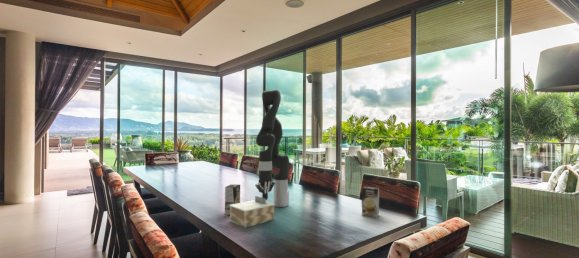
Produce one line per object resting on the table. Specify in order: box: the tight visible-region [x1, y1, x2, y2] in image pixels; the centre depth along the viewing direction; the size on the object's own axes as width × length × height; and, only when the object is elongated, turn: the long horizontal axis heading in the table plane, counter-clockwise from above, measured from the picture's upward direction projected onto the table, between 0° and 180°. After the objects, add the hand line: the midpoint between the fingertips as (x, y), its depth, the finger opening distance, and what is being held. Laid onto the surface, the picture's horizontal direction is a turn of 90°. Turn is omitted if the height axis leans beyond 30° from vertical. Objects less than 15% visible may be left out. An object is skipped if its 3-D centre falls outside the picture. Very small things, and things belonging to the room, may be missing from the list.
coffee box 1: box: [224, 184, 241, 215], centre depth 175 cm, size 9×6×16 cm
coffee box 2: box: [361, 185, 380, 218], centre depth 173 cm, size 9×6×16 cm
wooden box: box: [229, 205, 275, 228], centre depth 161 cm, size 19×14×8 cm
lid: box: [229, 195, 275, 212], centre depth 161 cm, size 20×15×4 cm
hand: (265, 199), depth 167 cm, fingers closed
